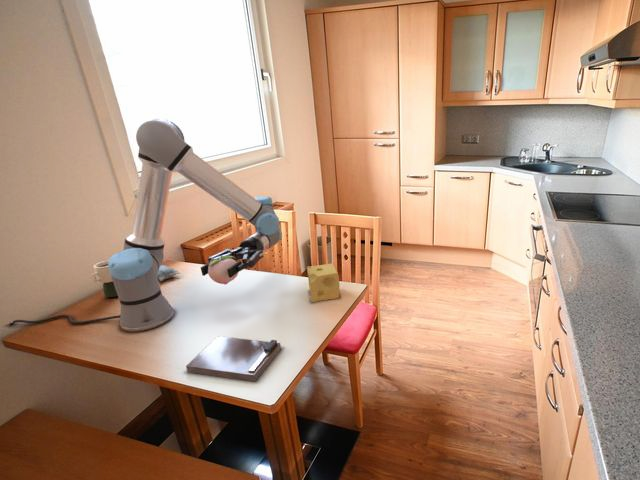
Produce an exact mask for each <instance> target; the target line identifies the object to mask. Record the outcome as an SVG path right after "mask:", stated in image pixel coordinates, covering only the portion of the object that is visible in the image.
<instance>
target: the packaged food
mask: <svg viewBox="0 0 640 480" xmlns="http://www.w3.org/2000/svg"><path fill="white" fill-rule="evenodd" d="M179 274H181V272H180V270H177V269H175V268H173V267H170V266H168V265H166V264H165V265H164V264H161V265H160V268H159V270H158V273H157V278H158V282H163V281H166V280H169V279H170V278H173V277H174V276H176V275H179Z"/></svg>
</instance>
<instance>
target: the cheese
mask: <svg viewBox="0 0 640 480" xmlns="http://www.w3.org/2000/svg"><path fill="white" fill-rule="evenodd" d="M306 272H307V280H308V287H309V293H310V301H311V303H315V302H316V303H317V302H321V301H327V300H332V299H333V300H334V299H339V298H340V277H339V273H338V271H337V269H336V267H335V265H334V263H325V264H318V265H311V266H310V265H309V266H306Z"/></svg>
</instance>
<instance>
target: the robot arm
mask: <svg viewBox="0 0 640 480" xmlns="http://www.w3.org/2000/svg"><path fill="white" fill-rule="evenodd" d="M135 139H136V143H137V146H138V155H137V158H138V159H139V161H140V162H141V163H142V164H141V172H140V177H139V182H138V183H139V184H138V190H137V196H136V203H135V209H134V215H133V221H132V227H131V232H130V233H128V234H126V235H125V238H124V243H123V250H120V251H118V252H117V253H114V254H113V255H111V256H109V258H108V260H107V261H108V267H109V273H110V275H111V277H112V280H113V283H114V286H115V289H116V292H117V295H118V296H117V297H118V300H119V303H120V314H119V315H111V316H107V317H100V318H94V319H93V318H92V319H88V320H79V321H78V320H73V317H72V315H70V314H65V313H64V314H56V315H54V316H53V315H52V316H50V317H46V318H42V319H37V320H26V319H14V320H12V321H13V323H11V322H9V324H8V326H9V327H10V326H13V325H14V324H16V323H25V324H40V323H43V322H47V321H52V320H54V319H58V318H68V320H69V322H70V323H71V324H75V325H80V324H89V323H96V322H101V321H107V320H108V321H109V320H113V319H119V325H120V328H121V330H122V331H124V332H129V333H137V332H145V331H148V330H152V329H155V328H157V327H159V326H162V325H164V324H166V323H167V322H168V321H170V320H171V319H172V318H173V316H174V313H175V312H174V309H173V306H172V304H170V303H169V301H168V300H167V298H166V297H165V296H164V295H163V293H162V289H161V285H160V281H158V278H157V273H158V270H159V268H160V265H163V262H164V257H165V255H164V249H165V244H166V242H165V239H163V238H162V232H163V227H164V221H165V216H166V211H167V204H168V199H169V193H170V187H171V182H172V176H173V173H178V174H180V176H183V177H184V178H186V179H187V180H188V181H190V182H192V183H193V184H194V185H196V186H197V187H198V188H200V189H201V190H203V191H204V192H206V193H207V194H209V195H210V196H211V197H213V198H214V199H216V200H217V201H219V202H220V203H221V204H223V205H224V206H226V207H227V208H228V209H230V210H232V211H233V212H234V213H236V214H237V215H239V216H240V217H241V218H243V219H244V220H246V221H247V222H249V224H251V225H252V226H254V229H255V233H253V234H252V235H250V236H249V237H247V238H245V239H243V240H242V241H241V242H240V243H239V245H238V247H237V248H234V249H231V248H229V247H228V248H225V249H224V250H223V251H219V252H218V253H215V254H214V255H211V256H209V257H207V261H208V262H207V263H206V264H204V265H202V266H201V267H200V271H201V275H202V276H204V277H205V276H206V275H209V274H208V266H209V264H210V263H211V262H212V261H213V260H216V259H220V258H221V255H222V257H224V256H233V257H235V258H232V259H233V260H235V261H236V262H237V263H236V264H234V265H233V266H231V267H230V268H228V269H227V271H228V275H229V277H232V276H234V275H235V274H237V273H238V274H239V272H242V271H243V270H244V269H247V268H249V269H253V268H254V267H255V266H256V265H257V264H258V262H259V261H260V260H261V259H263V258H264V253H265V252H267V251H268V250H269V249H271V248H272V247H274V246H276V245H277V244H278V243H279V242H280V241H281V240H282V237H283V232H282V230H281V229H280V219H279V217H278V215H277V213H276V212H275V210H274V203H273V199H272V197H270V196H266V195H261V196H255V197H254V196H252V195H250V194H249V193H248V192H247V191H246V190H244V189H242V187H240V186H238V185H237V184H236V183H234V182H233V181H232V180H231V179H229V178H228V177H226V176H225V175H224V174H222V173H221V171H219V170H217V169H216V168H214V167H213V166H212V165H211V164H210V163H208V162H207V161H205V160H204V159H203V158H202V157H200V156H199V155H197V154H196V153H195V152H194V149H193V147H192V146H191V145H190V144H188V143H187V142H186V141H185V135H184V133H183V131H182V130H181V128H180V127H179V125H177V124H176V123H174V122H173V121H170V120H168V119H164V118H154V119H151V120H150V119H149V120H147V121H145V122H143V123H141V124H140V126H139V127H138V128H137V130H136V135H135Z"/></svg>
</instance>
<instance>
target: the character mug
mask: <svg viewBox="0 0 640 480" xmlns="http://www.w3.org/2000/svg"><path fill="white" fill-rule="evenodd" d="M108 261H109V260H103V261H100V262H97V263H95V264H94V265H93V270H94V272H93V273H91V278H92V281H93V282H94V283H97V282H99V283H100V284H101V283H102V289H103V294H104V297H105V298H115V297H118V295H117V292H116V289H115V286H114V283H113V280H112V277H111V275H110V273H109V267H108Z"/></svg>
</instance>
